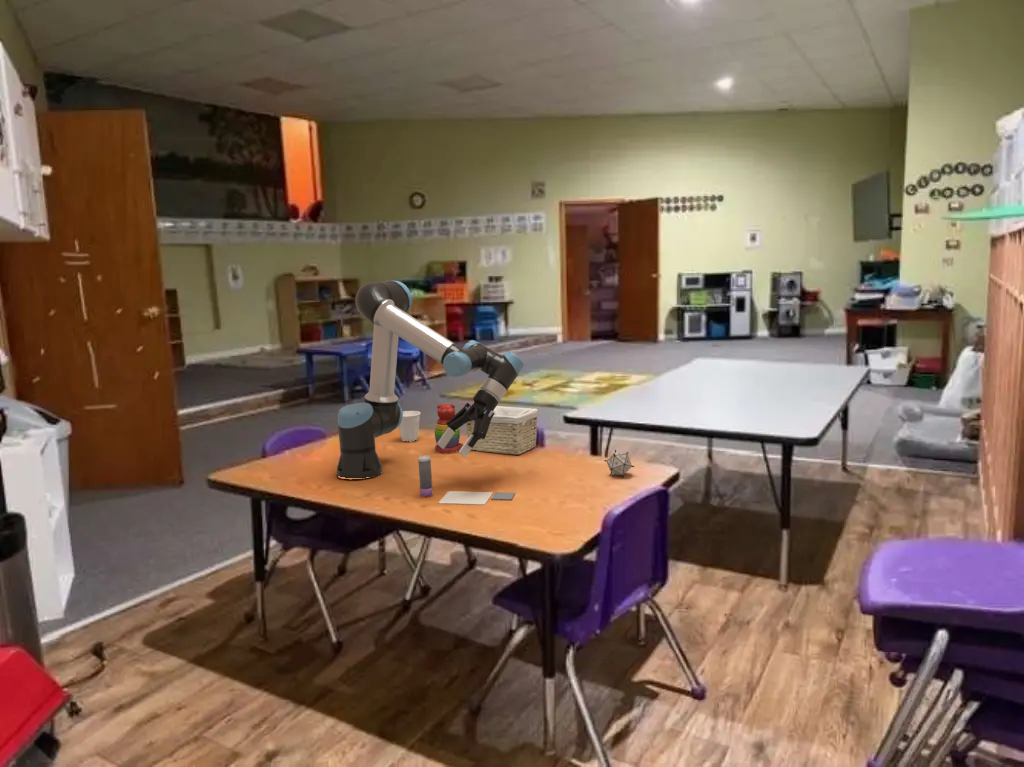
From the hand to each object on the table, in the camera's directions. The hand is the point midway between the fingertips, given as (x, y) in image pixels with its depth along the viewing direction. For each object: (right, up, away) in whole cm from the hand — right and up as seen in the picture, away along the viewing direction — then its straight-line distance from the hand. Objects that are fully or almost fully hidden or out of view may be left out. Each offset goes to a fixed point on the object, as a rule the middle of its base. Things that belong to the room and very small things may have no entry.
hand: (450, 450), depth 231 cm
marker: (-7, -13, -2) cm, 15 cm away
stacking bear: (-5, -5, +50) cm, 50 cm away
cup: (-22, -2, +67) cm, 71 cm away
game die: (+53, -9, +10) cm, 55 cm away
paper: (+5, -14, -7) cm, 16 cm away
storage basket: (+15, -4, +49) cm, 52 cm away
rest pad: (+16, -13, -7) cm, 22 cm away
